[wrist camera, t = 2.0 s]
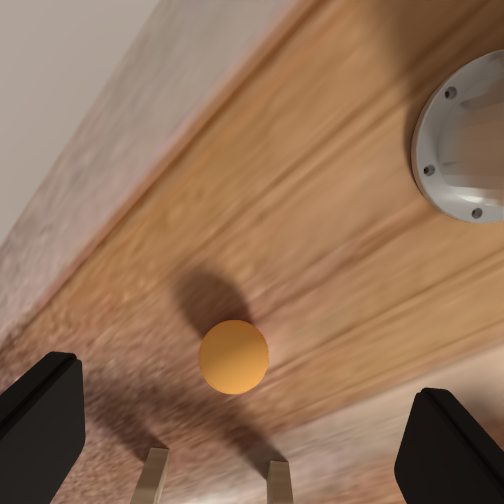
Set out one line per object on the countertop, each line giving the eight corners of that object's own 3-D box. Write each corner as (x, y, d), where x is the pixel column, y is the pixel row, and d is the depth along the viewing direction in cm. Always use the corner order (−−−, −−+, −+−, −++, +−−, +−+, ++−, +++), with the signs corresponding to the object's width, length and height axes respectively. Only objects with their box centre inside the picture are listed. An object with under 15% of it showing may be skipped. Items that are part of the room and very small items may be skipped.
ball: (207, 304, 28) (195, 339, 22) (271, 312, 28) (276, 349, 22) (201, 360, 29) (189, 406, 23) (262, 367, 29) (264, 415, 23)
